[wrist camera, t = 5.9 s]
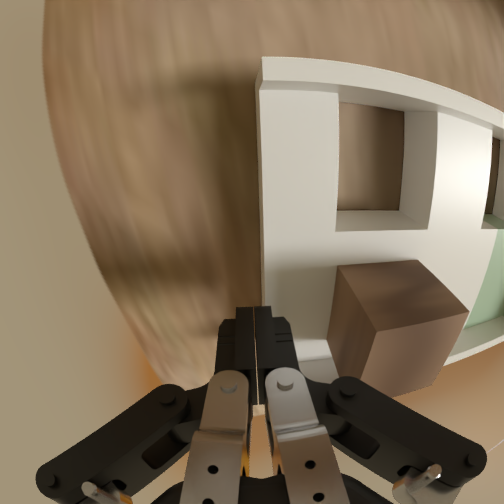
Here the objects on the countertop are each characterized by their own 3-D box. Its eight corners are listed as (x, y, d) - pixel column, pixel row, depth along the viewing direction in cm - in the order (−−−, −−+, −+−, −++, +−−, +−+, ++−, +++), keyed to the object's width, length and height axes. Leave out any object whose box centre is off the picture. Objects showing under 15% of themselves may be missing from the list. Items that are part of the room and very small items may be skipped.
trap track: (520, 139, 11) (565, 152, 7) (486, 302, 18) (515, 334, 13) (254, 83, 11) (261, 56, 6) (262, 339, 17) (268, 400, 13)
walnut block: (417, 259, 12) (469, 311, 8) (397, 328, 14) (431, 385, 10) (337, 265, 12) (376, 331, 8) (326, 339, 14) (348, 407, 10)
